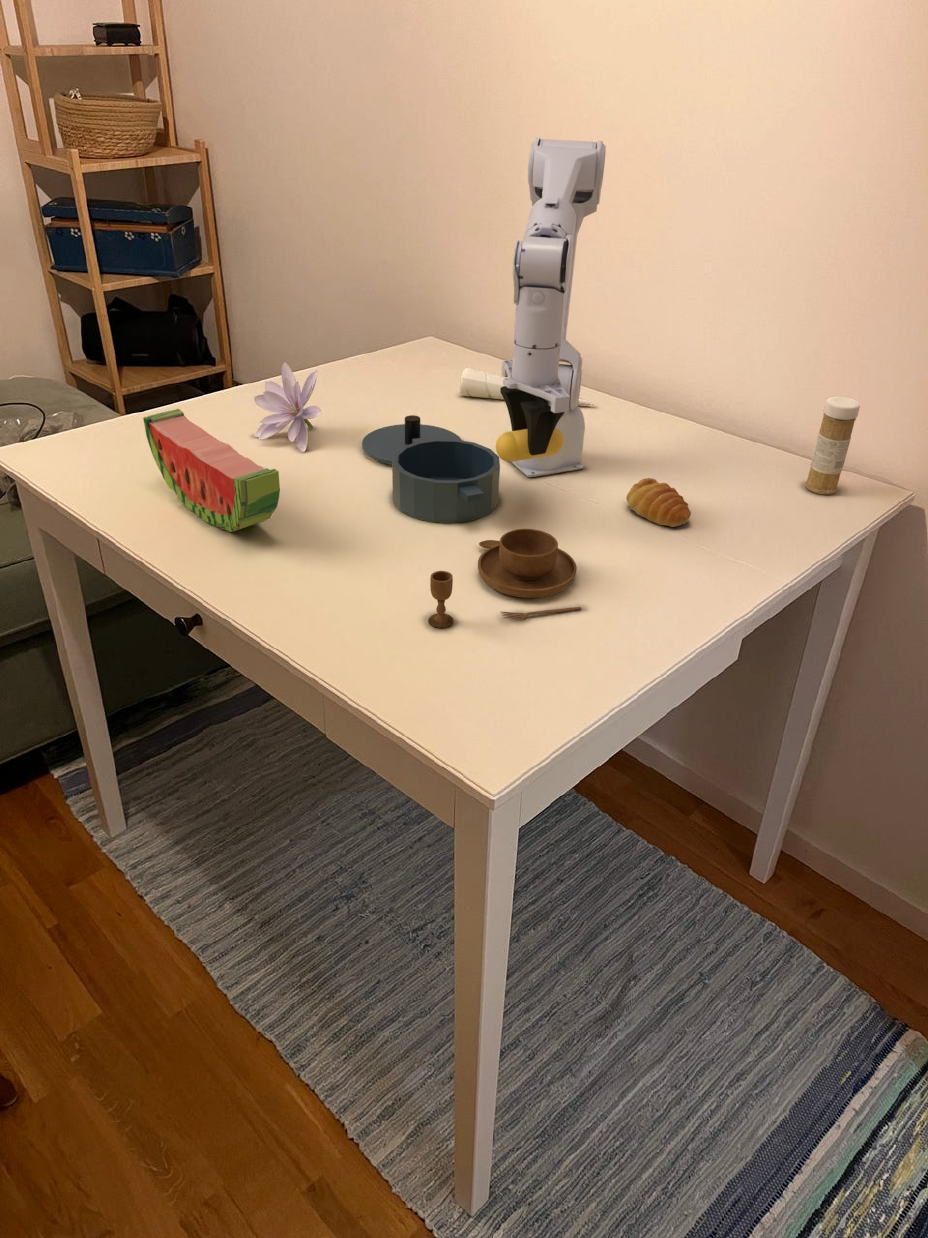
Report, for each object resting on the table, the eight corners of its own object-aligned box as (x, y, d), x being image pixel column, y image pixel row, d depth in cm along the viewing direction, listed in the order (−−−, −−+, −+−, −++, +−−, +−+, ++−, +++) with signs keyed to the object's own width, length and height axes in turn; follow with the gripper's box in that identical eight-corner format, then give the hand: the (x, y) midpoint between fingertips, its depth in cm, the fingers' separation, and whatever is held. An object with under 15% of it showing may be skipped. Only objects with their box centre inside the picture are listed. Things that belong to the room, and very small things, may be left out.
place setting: (600, 609, 107) (606, 565, 104) (433, 632, 102) (433, 587, 99) (547, 538, 121) (551, 497, 118) (397, 556, 116) (397, 514, 113)
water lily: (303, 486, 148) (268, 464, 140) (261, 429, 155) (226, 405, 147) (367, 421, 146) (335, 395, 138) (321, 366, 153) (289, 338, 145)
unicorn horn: (591, 415, 159) (594, 387, 156) (457, 398, 164) (457, 372, 161) (595, 405, 163) (598, 378, 160) (464, 390, 168) (465, 363, 165)
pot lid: (439, 425, 153) (440, 395, 151) (478, 461, 141) (480, 429, 139) (349, 437, 148) (347, 406, 145) (381, 476, 136) (381, 443, 133)
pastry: (701, 523, 126) (706, 497, 124) (664, 534, 123) (668, 508, 121) (655, 496, 133) (659, 471, 131) (619, 506, 130) (622, 481, 128)
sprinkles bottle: (823, 480, 139) (846, 393, 132) (843, 493, 136) (868, 404, 128) (797, 484, 138) (819, 396, 130) (817, 497, 134) (841, 408, 127)
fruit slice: (151, 484, 132) (139, 416, 126) (191, 473, 135) (182, 406, 130) (246, 556, 115) (237, 482, 110) (289, 540, 119) (283, 468, 113)
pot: (464, 464, 140) (465, 426, 137) (524, 521, 125) (526, 481, 122) (372, 478, 135) (371, 439, 132) (422, 539, 120) (423, 498, 117)
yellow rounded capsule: (553, 446, 124) (556, 419, 122) (567, 457, 121) (570, 430, 119) (490, 456, 121) (491, 429, 119) (503, 468, 118) (504, 440, 116)
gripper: (482, 328, 117) (478, 430, 124) (535, 363, 106) (527, 473, 113) (531, 323, 119) (525, 424, 127) (589, 357, 108) (578, 465, 116)
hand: (529, 447), depth 120 cm, fingers closed on yellow rounded capsule, 4 cm apart
